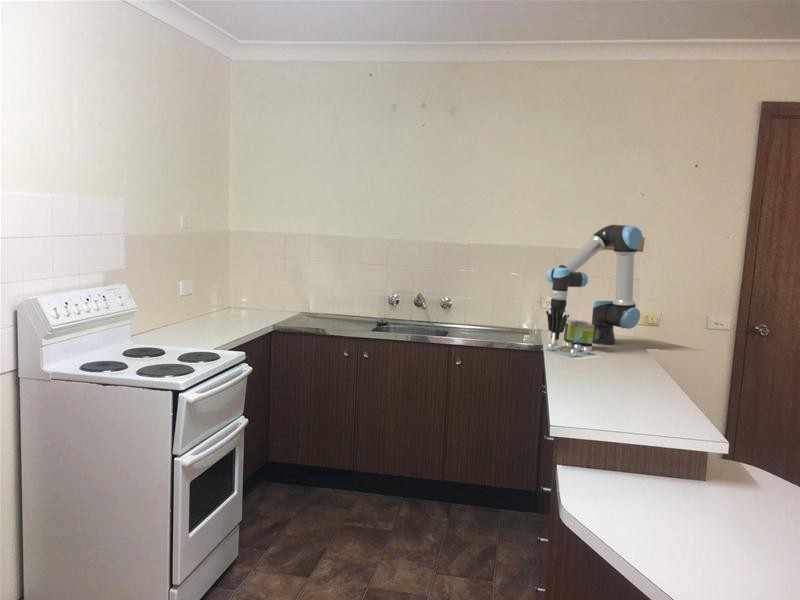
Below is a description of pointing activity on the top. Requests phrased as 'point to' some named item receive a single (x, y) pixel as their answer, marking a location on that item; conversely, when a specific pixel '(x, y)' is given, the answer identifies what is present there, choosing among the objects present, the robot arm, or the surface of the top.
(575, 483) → the top surface
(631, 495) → the top surface
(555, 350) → the board
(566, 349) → the nut
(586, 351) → the set of silver spheres
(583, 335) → the tea box
